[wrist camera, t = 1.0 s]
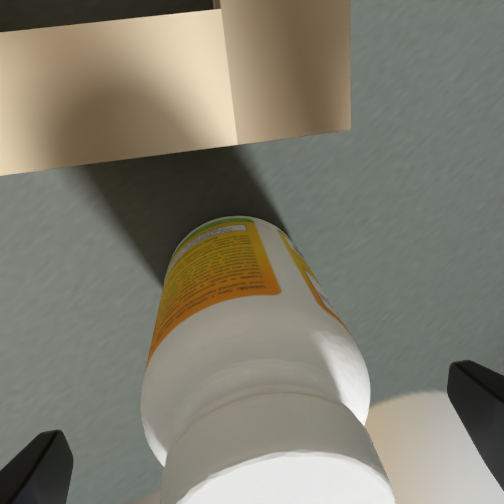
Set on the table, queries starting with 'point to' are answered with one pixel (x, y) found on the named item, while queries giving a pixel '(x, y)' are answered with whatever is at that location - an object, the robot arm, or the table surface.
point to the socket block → (173, 83)
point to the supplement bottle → (255, 378)
